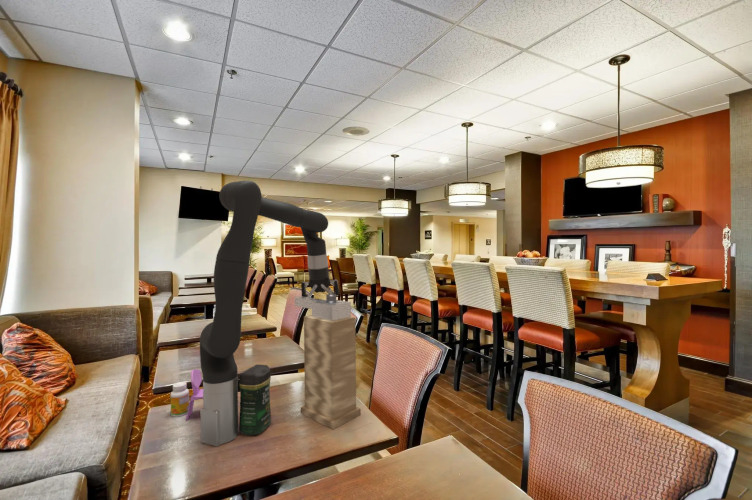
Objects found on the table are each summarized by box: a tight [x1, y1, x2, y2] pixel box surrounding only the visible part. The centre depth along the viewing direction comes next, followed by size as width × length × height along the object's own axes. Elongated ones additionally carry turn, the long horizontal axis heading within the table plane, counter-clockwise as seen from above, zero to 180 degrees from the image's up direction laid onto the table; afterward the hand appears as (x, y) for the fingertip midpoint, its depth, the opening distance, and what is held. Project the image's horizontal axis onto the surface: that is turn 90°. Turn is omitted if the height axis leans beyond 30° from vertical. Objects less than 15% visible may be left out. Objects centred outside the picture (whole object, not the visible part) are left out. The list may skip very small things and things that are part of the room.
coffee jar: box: [238, 364, 272, 436], centre depth 106 cm, size 10×8×19 cm
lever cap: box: [294, 293, 352, 322], centre depth 118 cm, size 23×8×7 cm, turn 48°
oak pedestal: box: [300, 314, 362, 430], centre depth 115 cm, size 16×12×32 cm
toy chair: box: [185, 368, 203, 422], centre depth 115 cm, size 8×9×15 cm
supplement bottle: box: [170, 381, 190, 418], centre depth 116 cm, size 5×5×10 cm
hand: (321, 306), depth 135 cm, fingers open, 8 cm apart
